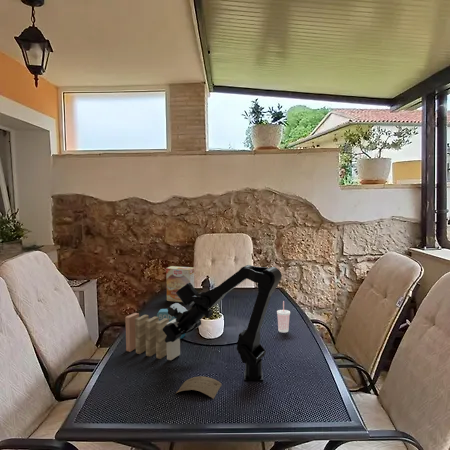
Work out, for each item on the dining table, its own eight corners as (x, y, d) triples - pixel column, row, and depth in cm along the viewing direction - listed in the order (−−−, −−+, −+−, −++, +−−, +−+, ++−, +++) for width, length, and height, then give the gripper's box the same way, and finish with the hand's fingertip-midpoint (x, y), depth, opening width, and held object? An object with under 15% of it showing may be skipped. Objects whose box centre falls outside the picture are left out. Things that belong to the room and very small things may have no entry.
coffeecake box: (166, 301, 229) (165, 268, 227) (171, 297, 236) (170, 265, 234) (190, 303, 224) (189, 269, 223) (194, 299, 231) (194, 267, 229)
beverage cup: (285, 327, 184) (286, 298, 182) (292, 332, 178) (293, 301, 177) (274, 329, 182) (274, 299, 180) (280, 333, 176) (281, 303, 175)
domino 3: (169, 353, 156) (169, 318, 154) (160, 359, 150) (159, 323, 149) (165, 352, 157) (164, 318, 155) (156, 358, 151) (155, 322, 150)
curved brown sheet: (172, 396, 124) (172, 388, 124) (183, 381, 134) (183, 373, 134) (217, 401, 121) (216, 393, 121) (224, 385, 131) (224, 377, 131)
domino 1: (149, 348, 160) (148, 315, 159) (139, 354, 155) (139, 319, 154) (145, 347, 161) (144, 314, 160) (135, 353, 156) (135, 318, 155)
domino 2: (159, 350, 158) (158, 317, 157) (150, 356, 153) (149, 321, 151) (155, 349, 159) (154, 316, 158) (146, 355, 154) (145, 320, 152)
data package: (157, 338, 171) (156, 311, 170) (159, 334, 175) (158, 308, 174) (184, 338, 171) (184, 311, 170) (185, 334, 175) (185, 308, 174)
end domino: (139, 346, 162) (139, 313, 161) (130, 351, 157) (129, 317, 156) (136, 345, 163) (135, 312, 162) (126, 350, 158) (125, 317, 157)
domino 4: (180, 354, 153) (179, 319, 152) (171, 360, 148) (170, 324, 147) (175, 353, 154) (175, 318, 153) (166, 359, 149) (166, 323, 148)
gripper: (194, 292, 155) (171, 315, 161) (166, 304, 139) (142, 329, 145) (211, 314, 152) (188, 336, 158) (185, 329, 136) (160, 354, 142)
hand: (170, 338), depth 151 cm, fingers closed on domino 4, 6 cm apart
